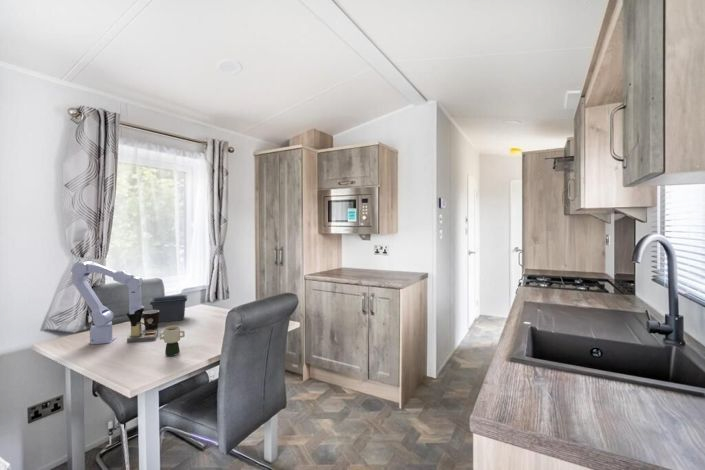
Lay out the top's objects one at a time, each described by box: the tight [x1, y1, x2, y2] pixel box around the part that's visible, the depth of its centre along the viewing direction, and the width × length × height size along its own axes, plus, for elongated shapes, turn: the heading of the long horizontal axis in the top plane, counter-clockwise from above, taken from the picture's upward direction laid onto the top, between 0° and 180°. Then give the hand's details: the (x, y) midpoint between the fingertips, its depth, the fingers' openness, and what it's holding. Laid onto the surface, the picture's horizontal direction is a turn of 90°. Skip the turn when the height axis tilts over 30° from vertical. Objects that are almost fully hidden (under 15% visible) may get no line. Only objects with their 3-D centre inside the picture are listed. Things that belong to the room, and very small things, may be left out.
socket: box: [126, 331, 159, 343], centre depth 192 cm, size 13×9×2 cm
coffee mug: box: [140, 309, 159, 331], centre depth 210 cm, size 12×9×10 cm
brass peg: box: [130, 321, 143, 337], centre depth 191 cm, size 4×4×9 cm
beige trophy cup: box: [158, 325, 186, 357], centre depth 170 cm, size 11×7×13 cm, turn 110°
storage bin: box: [149, 294, 188, 323], centre depth 228 cm, size 21×16×14 cm
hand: (136, 323), depth 191 cm, fingers open, 7 cm apart
